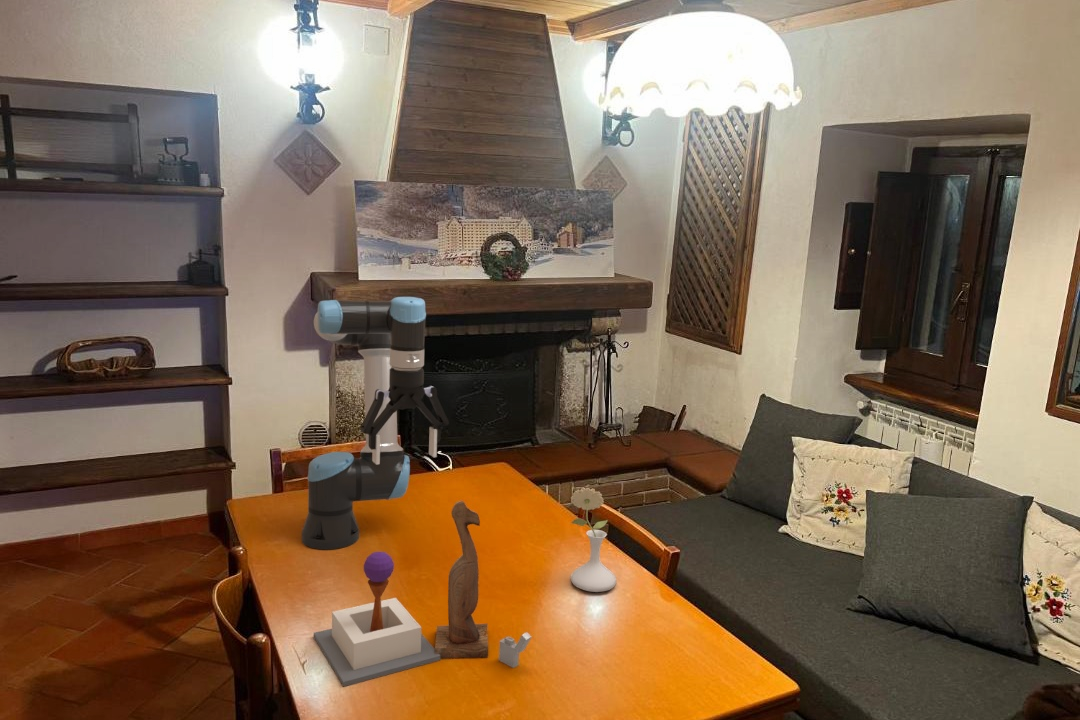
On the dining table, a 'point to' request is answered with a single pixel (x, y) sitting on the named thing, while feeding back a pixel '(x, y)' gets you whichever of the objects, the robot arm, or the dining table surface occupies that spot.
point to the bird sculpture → (463, 597)
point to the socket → (374, 643)
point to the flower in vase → (592, 547)
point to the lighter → (512, 649)
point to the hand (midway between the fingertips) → (404, 459)
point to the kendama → (378, 582)
